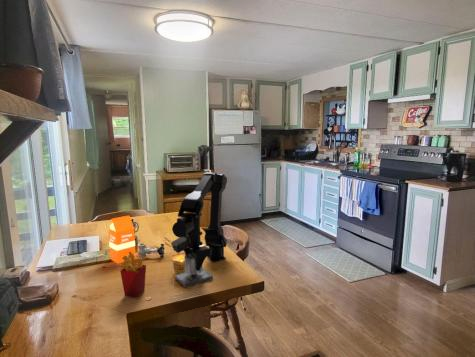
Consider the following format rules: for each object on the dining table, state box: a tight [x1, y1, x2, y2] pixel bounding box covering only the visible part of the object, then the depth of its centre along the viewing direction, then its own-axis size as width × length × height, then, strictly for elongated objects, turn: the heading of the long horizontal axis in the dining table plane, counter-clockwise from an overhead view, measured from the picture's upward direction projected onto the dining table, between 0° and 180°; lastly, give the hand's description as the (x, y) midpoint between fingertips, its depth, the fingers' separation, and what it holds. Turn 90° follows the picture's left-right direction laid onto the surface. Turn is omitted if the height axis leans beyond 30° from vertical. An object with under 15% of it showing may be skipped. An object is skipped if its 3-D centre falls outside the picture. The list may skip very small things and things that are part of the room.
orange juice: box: [108, 215, 137, 264], centre depth 140 cm, size 8×9×20 cm
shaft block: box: [174, 267, 214, 288], centre depth 120 cm, size 12×9×6 cm
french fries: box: [117, 252, 147, 299], centre depth 107 cm, size 9×8×15 cm
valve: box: [136, 242, 165, 259], centre depth 142 cm, size 7×7×12 cm
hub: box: [184, 253, 203, 274], centre depth 119 cm, size 7×7×6 cm
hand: (193, 267), depth 120 cm, fingers closed on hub, 7 cm apart
